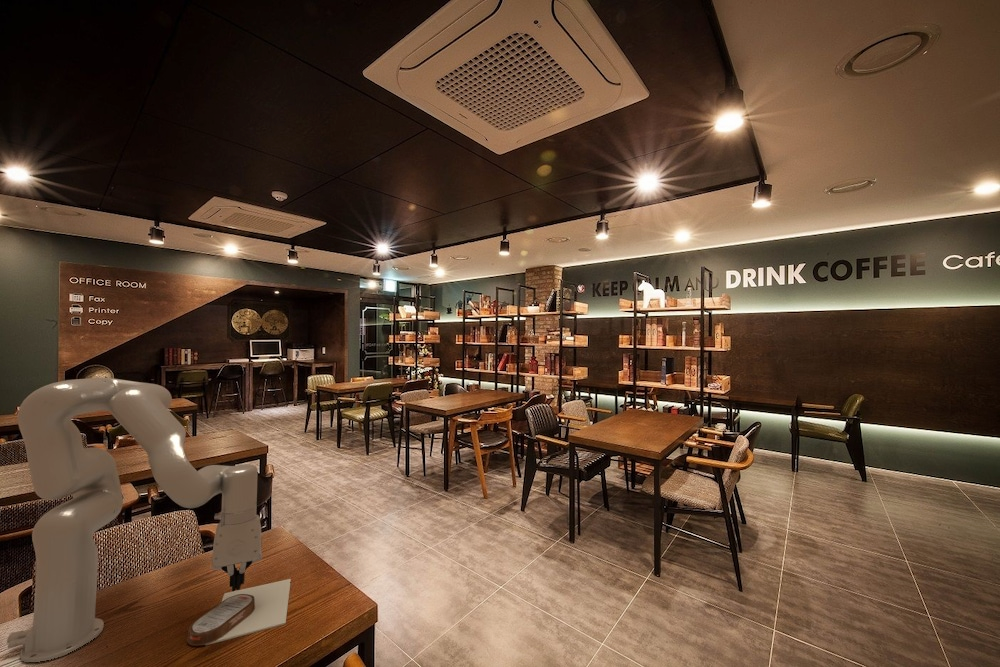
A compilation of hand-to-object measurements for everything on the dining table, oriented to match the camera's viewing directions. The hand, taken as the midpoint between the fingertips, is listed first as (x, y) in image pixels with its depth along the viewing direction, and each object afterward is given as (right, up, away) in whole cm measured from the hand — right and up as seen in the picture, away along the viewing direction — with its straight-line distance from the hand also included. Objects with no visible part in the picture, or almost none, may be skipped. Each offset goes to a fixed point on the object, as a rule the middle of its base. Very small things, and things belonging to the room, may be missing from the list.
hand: (236, 587), depth 98 cm
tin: (-5, -4, -3) cm, 7 cm away
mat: (+3, -6, +1) cm, 7 cm away
